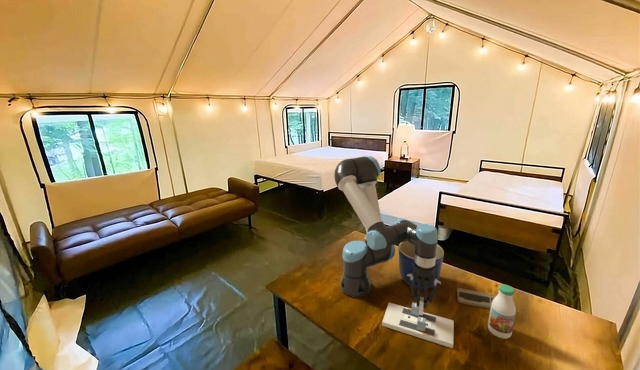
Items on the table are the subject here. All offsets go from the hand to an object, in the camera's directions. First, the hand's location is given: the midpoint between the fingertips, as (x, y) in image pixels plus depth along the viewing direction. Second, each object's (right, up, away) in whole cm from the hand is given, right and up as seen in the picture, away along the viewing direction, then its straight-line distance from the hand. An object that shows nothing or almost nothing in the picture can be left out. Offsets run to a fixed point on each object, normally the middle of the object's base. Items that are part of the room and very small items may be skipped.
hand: (421, 312), depth 108 cm
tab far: (-2, -1, +1) cm, 2 cm away
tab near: (-2, -3, -6) cm, 7 cm away
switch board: (-2, -4, -2) cm, 5 cm away
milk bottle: (+28, -4, -7) cm, 29 cm away
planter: (+8, +4, +24) cm, 25 cm away
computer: (+29, 0, +10) cm, 30 cm away
